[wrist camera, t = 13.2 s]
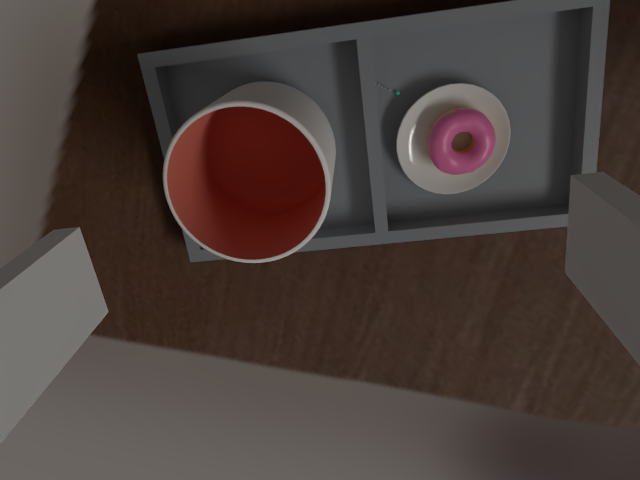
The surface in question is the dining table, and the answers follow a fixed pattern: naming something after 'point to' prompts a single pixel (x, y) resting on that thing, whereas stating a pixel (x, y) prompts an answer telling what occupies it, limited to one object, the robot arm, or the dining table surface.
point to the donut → (453, 138)
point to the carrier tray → (413, 82)
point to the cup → (252, 173)
